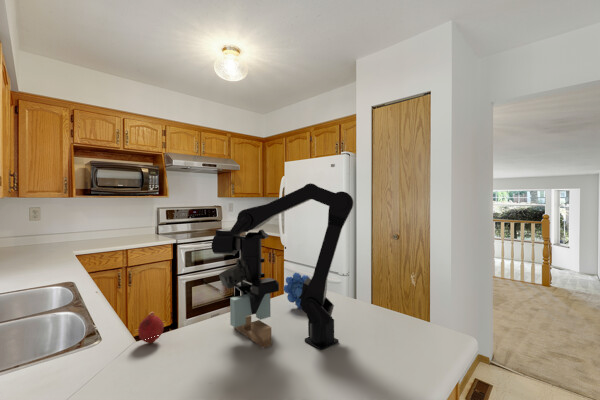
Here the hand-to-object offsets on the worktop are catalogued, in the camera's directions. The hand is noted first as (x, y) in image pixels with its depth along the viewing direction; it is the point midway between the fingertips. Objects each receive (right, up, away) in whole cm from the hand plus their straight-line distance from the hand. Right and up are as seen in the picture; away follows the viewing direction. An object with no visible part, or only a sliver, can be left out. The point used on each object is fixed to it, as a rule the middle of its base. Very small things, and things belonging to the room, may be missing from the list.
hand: (251, 312), depth 79 cm
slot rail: (0, -6, 0) cm, 6 cm away
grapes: (+13, -7, +20) cm, 25 cm away
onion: (-25, -7, -4) cm, 26 cm away
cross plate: (0, -2, 0) cm, 2 cm away
